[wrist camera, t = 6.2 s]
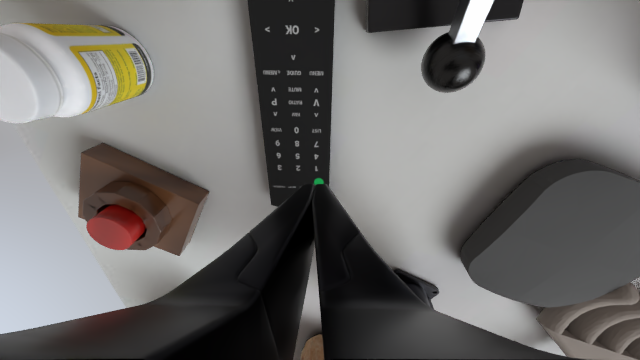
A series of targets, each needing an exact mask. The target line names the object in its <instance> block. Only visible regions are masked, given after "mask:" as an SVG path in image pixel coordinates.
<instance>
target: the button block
mask: <svg viewBox="0 0 640 360" xmlns="http://www.w3.org/2000/svg"><path fill="white" fill-rule="evenodd" d="M208 194H209V191H207V190H205V189H203V188H201V187H199V186H196V185H194V184H192V183H190V182H188V181H185V180H183V179H181V178H179V177H177V176H174V175H172V174H170V173H168V172H166V171H163V170H161V169H159V168H157V167H155V166H152V165H150V164H148V163H146V162H144V161H142V160H139V159H137V158H135V157H133V156H131V155H128V154H126V153H124V152H122V151H120V150H117V149H115V148H113V147H111V146H109V145H106V144H104V143H101V144H99V145H97V146H95V147H92V148H90V149H88V150H86V151H84V152H82V153H81V167H80V190H79V213H78V217H80V218H82V219H85V220H86V221H87V223H88V221H89V220H90V219H92V218H93V217H94V216H96V215H97V214H98V213H100V212H101V211H102V210H104V209H105V208H106V207H108V206H110V205H120V206H122V207H125V208H127V209H130V210H132V211H133V212H134V213H136V214H137V215H138V216H139V217H140V218H141V219H142V220H143V222H144V224H145V231H144V233H143V234H142V235H141V236H140V237H139V238H138V239H137V240H136V241H135V242H134V243H133V244H132V245H131V246H130V247H129V248H127V249H128V250H147V249H149V248H151V247H153V246H154V247H157V248H159V249H162V250H165V251H167V252H170V253H172V254H175V255H177V256H180V255H181V253H182V252H183V250H184V249H185V248H186V246H187V245H188V243H189V242H190V240H191V237H192V235H193V232H194V230H195V227H196V224H197V222H198V219H199V217H200V214H201V212H202V209H203V207H204V204H205V202H206V199H207V196H208Z"/></svg>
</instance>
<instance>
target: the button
mask: <svg viewBox="0 0 640 360" xmlns="http://www.w3.org/2000/svg"><path fill="white" fill-rule="evenodd" d="M87 231H88V233H89V234H90V236H91V237H92V238H93V239H94V240H95V241H97V242H98V243H99V244H101V245H103V246H105V247H107V248H110V249H115V250H124V249H127V248H129V247H130V246H131V245H132V244H133V243H134V242H135V241H136V240H137V239H138V238H139V237H140V236H141V235H142V234H143V233H144V231H145V224H144V222H143V220H142V219H141V218H140V217H139V216H138V215H137V214H136V213H134V212H133V211H132V210H130V209H127V208H125V207H122V206H120V205H110V206H108V207H106V208H105V209H104V210H102V211H101V212H100V213H98V214H97V215H96V216H94V217H93V218H92V219H90V220H89V221H88V223H87Z"/></svg>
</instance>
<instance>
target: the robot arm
mask: <svg viewBox="0 0 640 360" xmlns="http://www.w3.org/2000/svg"><path fill="white" fill-rule="evenodd" d="M314 245H315V249H316V261H317V274H318V286H319V298H320V311H321V324H322V338H323V352H324V360H592V359H579V358H571V357H565V356H560V355H556V354H552V353H548V352H545V351H541V350H537V349H534V348H531V347H528V346H525V345H523V344H520V343H517V342H515V341H512V340H510V339H507V338H504V337H502V336H499V335H497V334H494V333H492V332H489V331H486V330H484V329H481V328H479V327H476V326H473V325H471V324H468V323H466V322H463V321H461V320H458V319H455V318H453V317H450V316H448V315H445V314H443V313H440V312H438V311H436V310H434V308H433V305H432V303H431V300H430V299H432V298H433V297H435V296H436V295H437V294H439V290H438V288H437V287H435V286H433V285H431V284H429V283H426V282H424V281H422V280H420V279H418V278H416V277H414V276H411V275H409V274H407V273H405V272H403V271H401V270H394V271H393V270H392V269H391V268H390V267H389V266H388V265H387V264H386V263H385V262H384V261H383V260H382V259H381V257H380V256H379V255H378V254H377V253H376V252H375V251H374V249H373V248H372V247H371V246H370V244H369V243H368V242H367V240H366V239H365V238H364V236H363V235H362V233H360V231H359V229H358V228H357V226H356V225H355V224H354V222H353V221H352V219H351V218H350V216H349V215H348V214H347V212H346V211H345V209H344V208H343V207H342V205H341V204H340V202H339V201H338V200H337V198H336V197H335V195H334V194H333V192H332V191H331V190H330V188H329V187H328V185H327V184H316V185H314V184H304V185H303V186H302V187H301V188H299V189H298V190H297V191H296V192H295V193H294V194H293V195H291V196H290V197H289V198H288V199H287V200H286V201H284V202H283V203H282V204H281V205H280V206H279V207H278V208H276V209H275V210H274V211H273V212H272V213H271V214H270V215H268V216H267V217H266V218H265V219H264V220H263V221H261V222H260V223H259V224H258V225H257V226H256V227H255V228H253V229H252V230H251V231H250V233H248V234H246V235H245V236H244V237H243V238H242V239H241V240H239V241H238V242H237V243H236V244H235V245H233V246H232V247H231V248H230V249H229V250H227V251H226V252H225V253H223V254H222V255H221V256H219V257H218V258H217V259H215V260H214V261H213V262H211V263H210V264H208V265H207V266H206V267H204V268H203V269H202V270H200V271H199V272H197V273H196V274H195V275H193V276H192V277H190V278H189V279H188V280H186V281H185V282H183V283H182V284H181V285H179V286H178V287H177V288H175V289H174V290H172V291H171V292H169V293H168V294H166V295H164V296H162V297H161V298H158V299H156V300H154V301H151V302H149V303H146V304H143V305H139V306H134V307H130V308H125V309H120V310H116V311H112V312H107V313H102V314H97V315H93V316H88V317H84V318H79V319H75V320H70V321H65V322H61V323H57V324H51V325H47V326H43V327H38V328H33V329H28V330H23V331H17V332H11V333H5V334H0V360H293V357H294V351H295V346H296V341H297V336H298V330H299V325H300V320H301V315H302V309H303V304H304V299H305V293H306V288H307V283H308V278H309V272H310V267H311V262H312V257H313V251H314Z"/></svg>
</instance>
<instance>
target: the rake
mask: <svg viewBox="0 0 640 360" xmlns="http://www.w3.org/2000/svg"><path fill="white" fill-rule="evenodd" d="M536 320H537V321H538V322H539V323H540V324H541V326H542V327H543V328H544V329H545V330H546V331H547V333H548V334H549V335H550V336H551V337H552V339H553V340H554V341H555V342H556V343H557V345H558V346H559V347H560V348H561V350H562V351H563V352H564V353H565V355H566V356H567V357H571V358H579V359H592V360H640V292H638V290H637V288H636V287H635V286H634V285H633V284H632V283H630V282H629V283H628V284H626V285H624V286H622V287H620V288H618V289H616V290H614V291H612V292H610V293H607V294H605V295H603V296H600V297H598V298H595V299H593V300H589V301H586V302H582V303H578V304H573V305H568V306H561V307H544V309H543V310H542V311H541V313H540V314H539V316H538V317H537V319H536ZM566 327H567V328H566Z"/></svg>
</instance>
